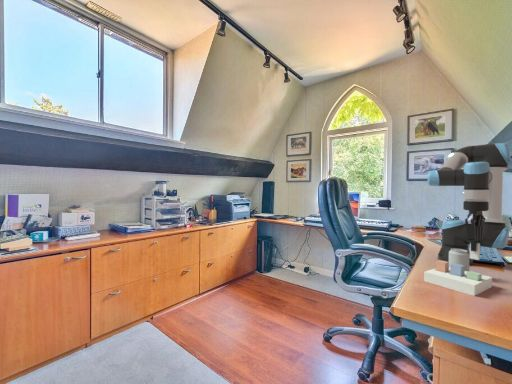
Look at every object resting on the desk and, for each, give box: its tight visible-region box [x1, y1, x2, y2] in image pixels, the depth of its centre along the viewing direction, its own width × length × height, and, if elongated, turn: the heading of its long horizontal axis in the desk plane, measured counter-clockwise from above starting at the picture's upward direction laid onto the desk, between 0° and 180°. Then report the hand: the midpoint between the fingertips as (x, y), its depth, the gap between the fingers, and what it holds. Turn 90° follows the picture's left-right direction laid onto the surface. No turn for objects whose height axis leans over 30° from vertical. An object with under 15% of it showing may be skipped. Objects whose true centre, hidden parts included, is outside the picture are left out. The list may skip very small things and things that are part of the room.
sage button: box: [467, 270, 483, 281], centre depth 97 cm, size 4×4×5 cm
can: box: [449, 248, 470, 272], centre depth 113 cm, size 8×8×12 cm
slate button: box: [450, 263, 465, 277], centre depth 102 cm, size 4×4×5 cm
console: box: [423, 267, 493, 297], centre depth 102 cm, size 18×17×4 cm
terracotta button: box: [434, 259, 449, 273], centre depth 107 cm, size 4×4×5 cm
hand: (474, 258), depth 97 cm, fingers closed
